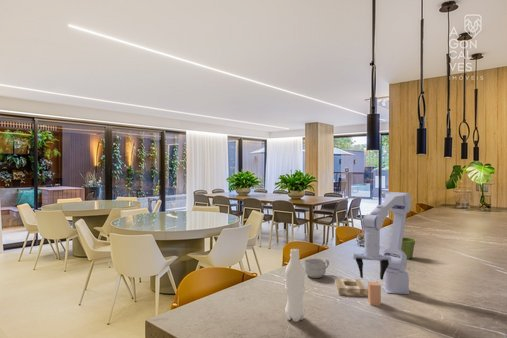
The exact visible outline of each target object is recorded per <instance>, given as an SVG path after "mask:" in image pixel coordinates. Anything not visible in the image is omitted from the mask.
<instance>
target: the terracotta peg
mask: <svg viewBox="0 0 507 338" xmlns="http://www.w3.org/2000/svg"><path fill="white" fill-rule="evenodd" d="M381 287H382V285H381V284H380V283H379V281H367V289H368V296H367V302H368V304H369V305H370V306H382V302H381V299H382V297H381V296H382V295H381V293H382V288H381Z"/></svg>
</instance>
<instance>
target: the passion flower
mask: <svg viewBox="0 0 507 338" xmlns="http://www.w3.org/2000/svg"><path fill="white" fill-rule="evenodd" d="M353 240H354V241H356V242H357V243H356V244H357V245H358V246H359V245H361V246H365V232H364V231H363V232H360V233H357V236H356V237H355V238H354V239H353Z"/></svg>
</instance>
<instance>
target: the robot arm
mask: <svg viewBox="0 0 507 338" xmlns="http://www.w3.org/2000/svg"><path fill="white" fill-rule="evenodd" d="M412 201H413V200H412V195H411V194H410V193H409V192H396V191H395V192H394V191H387V192H386V193H385V196H384V201H383V202H382V204H379V205H378V204H377V205H376V206H375V208H374V209H373V210H372V211H370V213H369V214H368V213H367V214H365V215H363V217H362V220H361V225H362V227H363V228H362V229H363V233H364V232H365V242H364V251H363V252H364V253H352V259H353V260H355V262H356V265H357V267H358V272H359V276H360V278H361V279H363V278H364V272H363V271H364V270H363V269H364V260H366V261H379V266H380V268H379V269H380V271H379V279H380V280H382V281H383V279H384V285H381V287H382V289H383V290H384V291H385V292H386V293H387V294H397V295H398V294H403V295H404V294H406V295H410V292H409V291H410V289H409V288H410V285H409V284H410V282H409V281H410V280H409V279H410V278H409V274H408V272H407V271H406V270H407V267H408V261H407V260H408V259H407V256H406V254H405V253H404V252H403V251H402V250H401V246H402V239H403V238H404V231H405V224H406V218H407V214H408V213H410V212H411V209H412V208H411V207H412ZM389 211H391V212H393V219H392V226H391V234H390V239H389V240H390V241H389V245H388V247H387V248H385V249H383V251H382V254H380V246H381V245H380V243H381V242H380V238H381V237H380V234H381V233H380V231H381V230H382V227H383V226H384V225H383V224H384V223H385V220H386V218H388V216H389V214H390V212H389ZM399 256H400V257H399Z"/></svg>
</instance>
